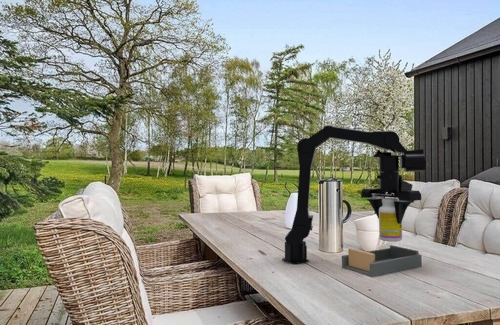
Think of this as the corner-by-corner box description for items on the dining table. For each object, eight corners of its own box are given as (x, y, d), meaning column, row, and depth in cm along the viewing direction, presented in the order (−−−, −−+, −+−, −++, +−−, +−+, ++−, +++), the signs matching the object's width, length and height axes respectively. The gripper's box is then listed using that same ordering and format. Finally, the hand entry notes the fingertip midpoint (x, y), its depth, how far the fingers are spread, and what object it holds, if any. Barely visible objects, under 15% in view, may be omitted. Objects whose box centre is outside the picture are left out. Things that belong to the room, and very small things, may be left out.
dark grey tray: (372, 277, 108) (372, 260, 108) (341, 267, 118) (341, 252, 118) (421, 266, 118) (421, 251, 119) (389, 258, 129) (389, 244, 129)
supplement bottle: (403, 242, 117) (403, 199, 118) (380, 241, 119) (380, 199, 119) (399, 238, 124) (399, 197, 124) (378, 237, 125) (377, 197, 125)
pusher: (372, 272, 110) (371, 254, 110) (348, 265, 118) (348, 248, 118) (375, 271, 111) (374, 254, 111) (351, 264, 119) (351, 248, 119)
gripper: (432, 171, 118) (433, 223, 117) (383, 171, 134) (383, 217, 133) (408, 172, 112) (409, 227, 112) (359, 172, 128) (360, 219, 128)
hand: (390, 222), depth 121 cm, fingers closed on supplement bottle, 7 cm apart
